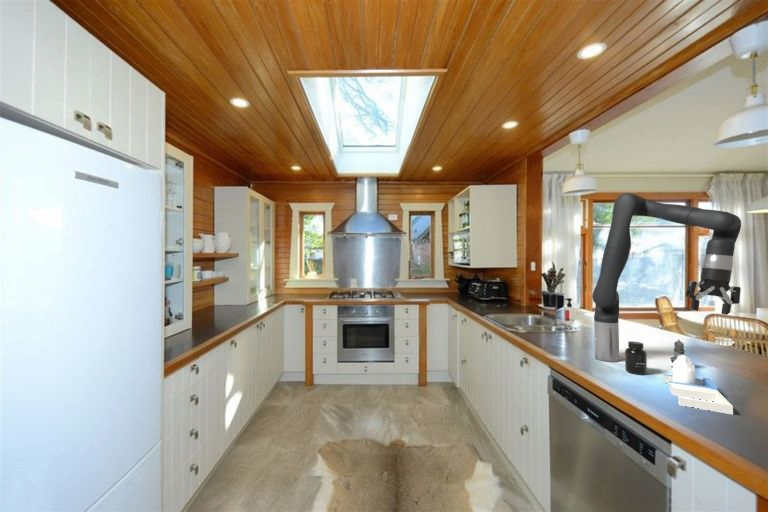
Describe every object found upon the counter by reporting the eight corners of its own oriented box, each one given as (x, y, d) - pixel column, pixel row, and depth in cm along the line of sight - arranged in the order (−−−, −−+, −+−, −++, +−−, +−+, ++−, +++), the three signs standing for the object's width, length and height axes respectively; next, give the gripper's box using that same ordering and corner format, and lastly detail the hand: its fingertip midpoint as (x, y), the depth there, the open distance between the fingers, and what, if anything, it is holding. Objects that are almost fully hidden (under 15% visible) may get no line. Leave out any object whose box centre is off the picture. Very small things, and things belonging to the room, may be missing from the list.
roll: (689, 353, 116) (698, 357, 110) (690, 386, 115) (699, 392, 110) (669, 351, 118) (676, 356, 112) (669, 384, 118) (677, 390, 112)
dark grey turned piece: (693, 370, 131) (692, 341, 131) (676, 370, 132) (675, 340, 133) (682, 366, 137) (682, 337, 137) (666, 365, 138) (666, 337, 138)
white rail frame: (679, 405, 101) (679, 394, 101) (664, 381, 121) (664, 372, 121) (734, 414, 95) (733, 402, 95) (708, 387, 114) (708, 377, 114)
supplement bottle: (641, 376, 126) (640, 345, 126) (622, 371, 132) (621, 341, 132) (650, 373, 129) (649, 343, 129) (631, 368, 135) (630, 339, 135)
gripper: (734, 270, 118) (727, 314, 118) (686, 265, 122) (679, 307, 122) (750, 271, 110) (742, 317, 111) (698, 265, 115) (691, 310, 115)
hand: (709, 312), depth 117 cm, fingers open, 8 cm apart
